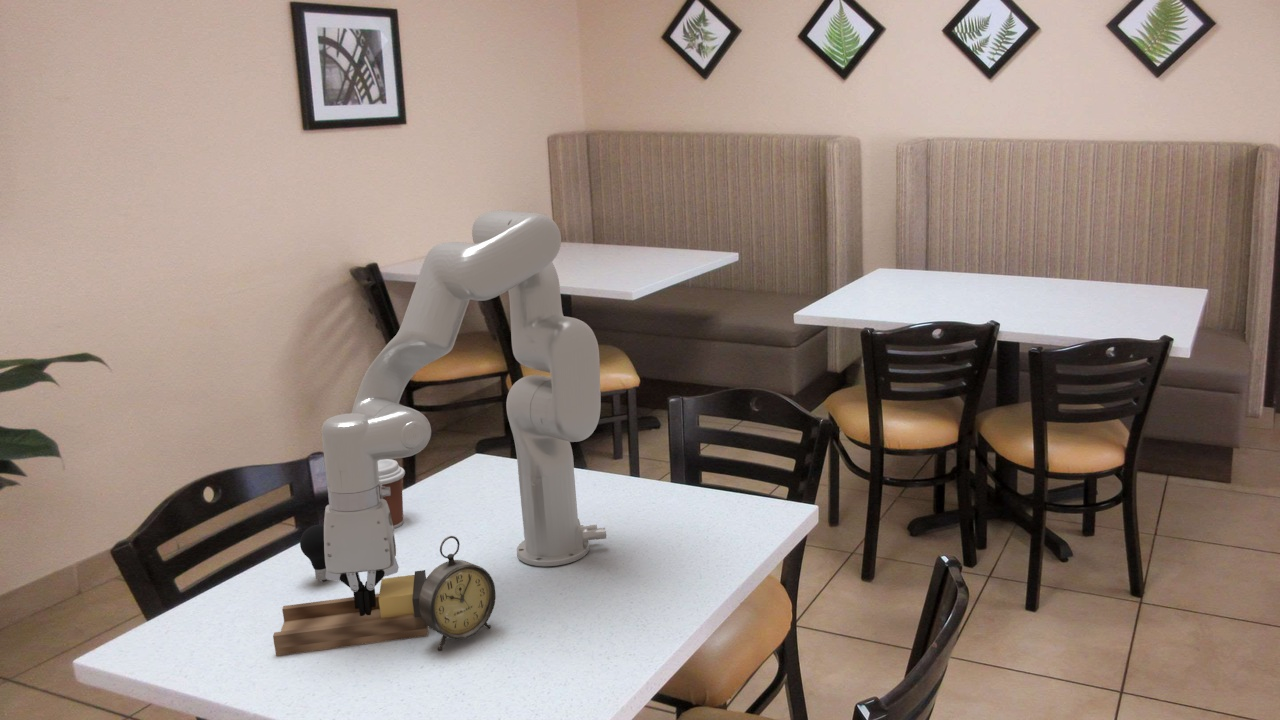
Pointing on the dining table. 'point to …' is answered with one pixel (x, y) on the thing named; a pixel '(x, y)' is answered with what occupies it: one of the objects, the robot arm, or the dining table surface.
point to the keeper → (396, 596)
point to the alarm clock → (457, 598)
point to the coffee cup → (392, 488)
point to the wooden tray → (345, 624)
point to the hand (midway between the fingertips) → (366, 611)
